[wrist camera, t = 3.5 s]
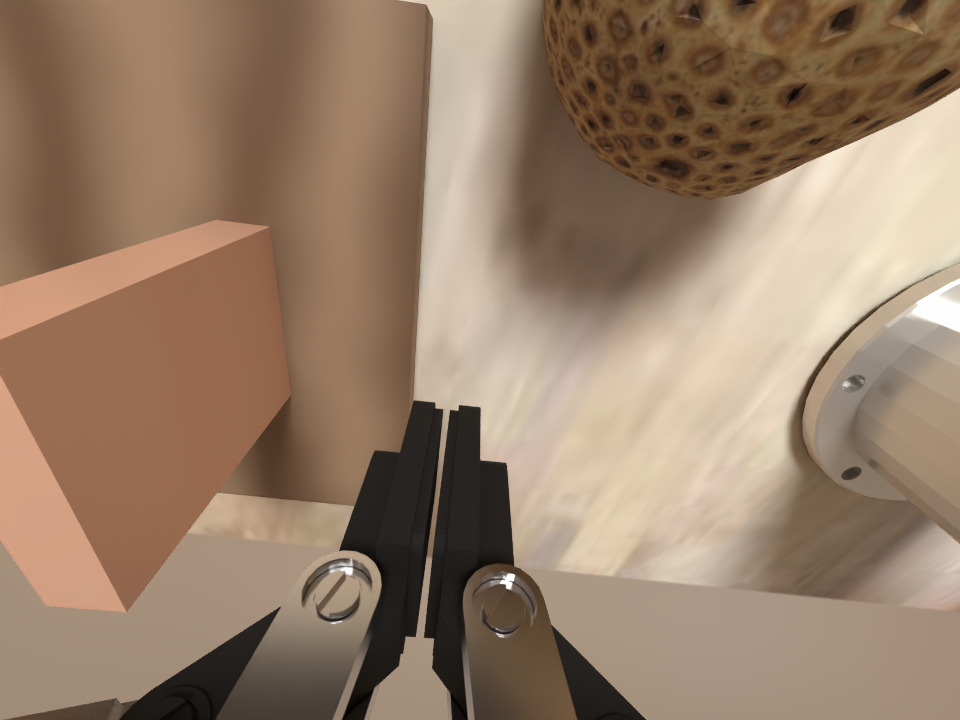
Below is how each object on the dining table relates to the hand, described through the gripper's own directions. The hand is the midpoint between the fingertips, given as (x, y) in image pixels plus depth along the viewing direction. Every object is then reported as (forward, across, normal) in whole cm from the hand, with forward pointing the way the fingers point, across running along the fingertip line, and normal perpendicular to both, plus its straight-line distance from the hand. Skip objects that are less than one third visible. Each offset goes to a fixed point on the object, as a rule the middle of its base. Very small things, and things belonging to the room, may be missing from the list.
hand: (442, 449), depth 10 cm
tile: (+6, +8, 0) cm, 10 cm away
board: (+8, +14, 0) cm, 16 cm away
